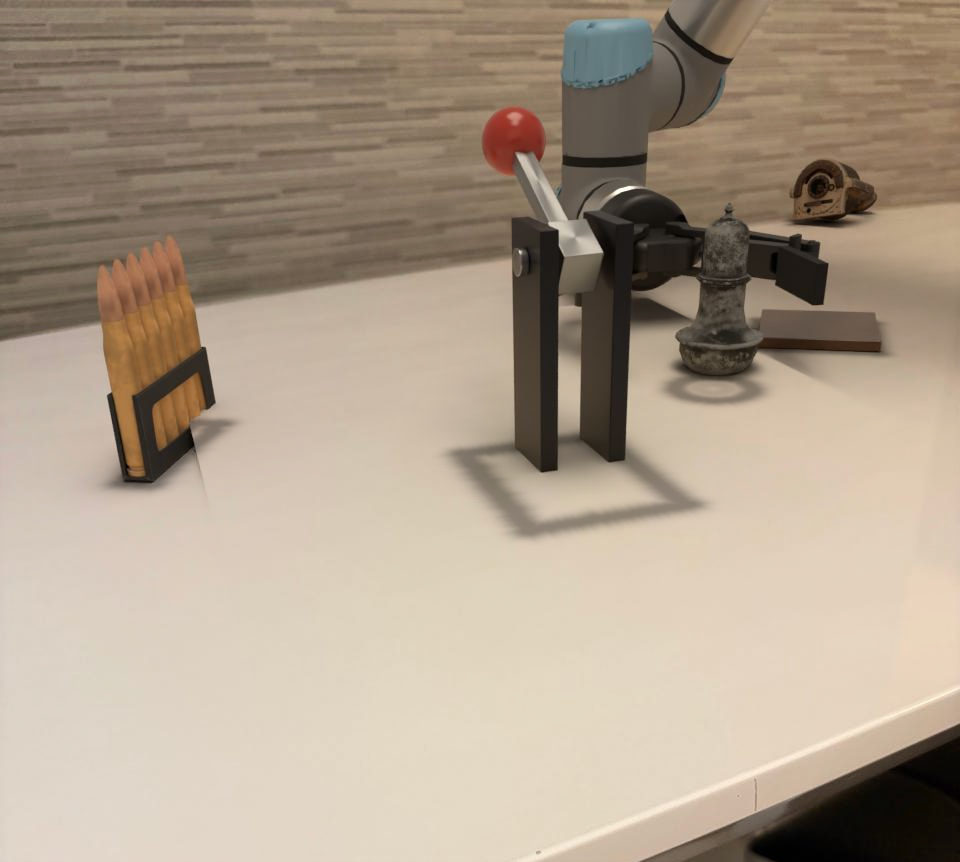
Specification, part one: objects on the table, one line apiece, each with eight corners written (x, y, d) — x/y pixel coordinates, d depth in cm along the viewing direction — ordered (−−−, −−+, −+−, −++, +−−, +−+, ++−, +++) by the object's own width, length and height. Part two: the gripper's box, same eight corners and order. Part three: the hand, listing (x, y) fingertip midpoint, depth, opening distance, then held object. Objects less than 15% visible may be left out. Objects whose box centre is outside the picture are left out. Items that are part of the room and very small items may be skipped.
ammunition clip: (151, 482, 63) (109, 268, 57) (122, 481, 63) (77, 268, 57) (219, 422, 72) (190, 232, 66) (193, 421, 72) (161, 232, 66)
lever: (470, 154, 62) (477, 94, 59) (529, 149, 63) (539, 90, 60) (541, 306, 56) (552, 248, 53) (605, 299, 57) (620, 241, 54)
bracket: (463, 452, 66) (453, 210, 59) (600, 432, 68) (606, 197, 61) (530, 528, 56) (527, 248, 49) (688, 502, 58) (707, 231, 51)
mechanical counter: (765, 170, 129) (823, 158, 121) (847, 150, 134) (909, 137, 125) (772, 233, 132) (830, 225, 123) (852, 211, 136) (913, 202, 127)
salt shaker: (709, 369, 79) (722, 192, 73) (775, 386, 75) (796, 201, 69) (654, 387, 75) (663, 203, 69) (721, 405, 71) (737, 213, 65)
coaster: (873, 322, 89) (875, 312, 88) (880, 351, 81) (881, 341, 81) (761, 318, 91) (761, 308, 90) (757, 347, 83) (758, 337, 83)
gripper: (771, 272, 93) (891, 334, 75) (486, 292, 90) (539, 362, 72) (780, 179, 89) (909, 220, 71) (483, 196, 86) (538, 244, 68)
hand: (723, 291), depth 71 cm, fingers open, 13 cm apart
